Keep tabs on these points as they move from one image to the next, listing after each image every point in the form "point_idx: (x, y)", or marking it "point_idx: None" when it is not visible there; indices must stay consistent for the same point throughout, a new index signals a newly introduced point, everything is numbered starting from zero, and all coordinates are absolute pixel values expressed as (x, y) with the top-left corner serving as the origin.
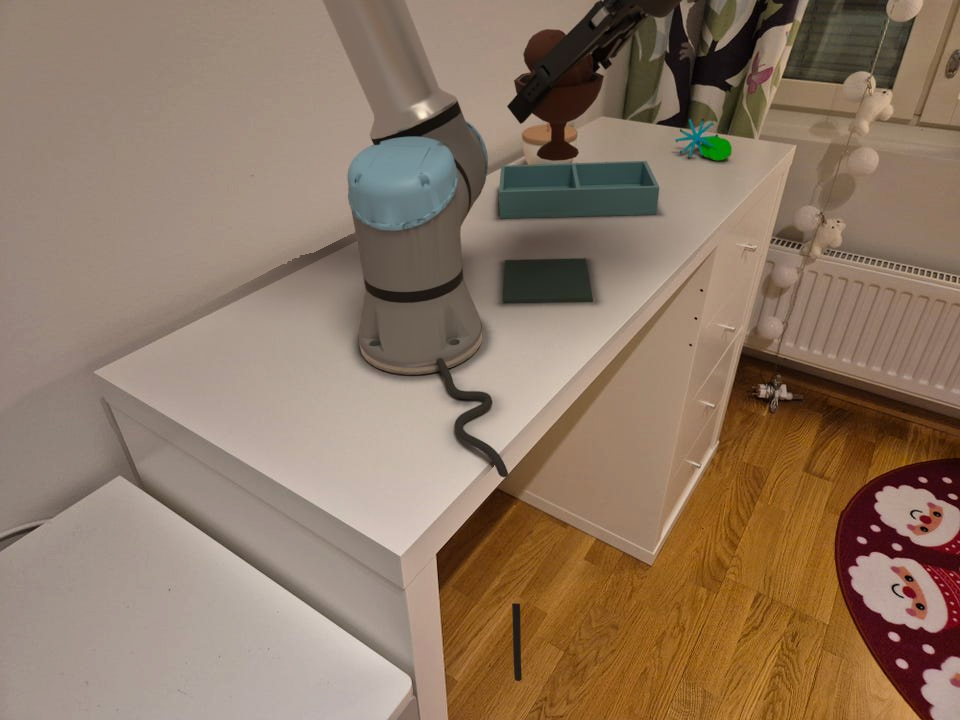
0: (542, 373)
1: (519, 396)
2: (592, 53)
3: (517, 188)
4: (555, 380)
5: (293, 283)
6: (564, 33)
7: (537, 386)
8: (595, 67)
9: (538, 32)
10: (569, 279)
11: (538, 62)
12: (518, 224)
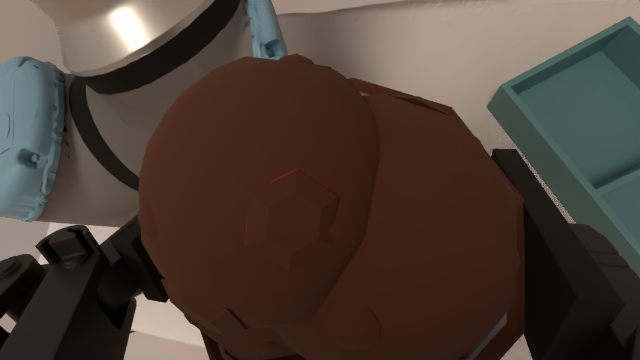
0: (185, 317)
1: (154, 311)
2: (612, 341)
3: (610, 68)
4: (179, 333)
5: None
6: (279, 259)
7: (168, 321)
8: (538, 355)
9: (183, 101)
10: None
11: (43, 253)
12: (482, 138)
